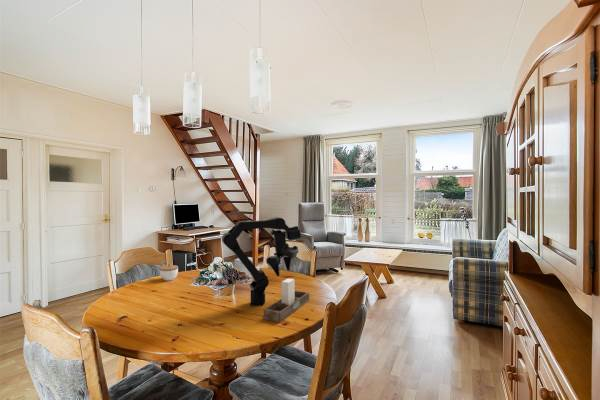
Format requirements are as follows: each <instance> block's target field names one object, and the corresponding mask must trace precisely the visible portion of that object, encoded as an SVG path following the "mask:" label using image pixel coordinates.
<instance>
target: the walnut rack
mask: <svg viewBox="0 0 600 400" xmlns="http://www.w3.org/2000/svg"><path fill="white" fill-rule="evenodd" d="M308 302H310V292H309V291H301V290H295V302H293V303H292V304H285V303H282V298H280V299H278V300H277V301H275V302H273V303H272V304H271V305H269V306H267V307H266V308H264V309H263V320H268V321H272V322H276V323H277V322H278V323H282V322H283V321H284V320H286V319H287V318H288V317H290V316H291V315H292V314H293V313H295V312H296V311H297V310H299V309H300V308H301V307H303V306H304V305H306V304H307V303H308Z"/></svg>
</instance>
